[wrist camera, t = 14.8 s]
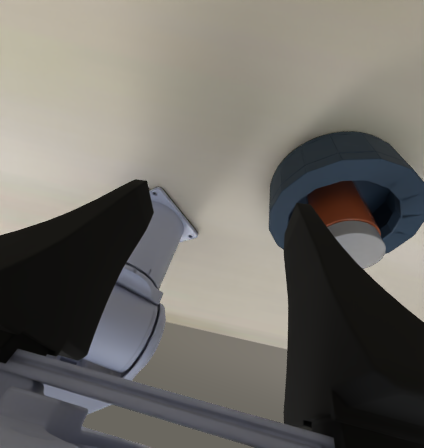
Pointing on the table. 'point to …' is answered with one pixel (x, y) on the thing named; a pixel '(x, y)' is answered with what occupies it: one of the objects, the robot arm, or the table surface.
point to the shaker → (349, 221)
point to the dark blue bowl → (351, 171)
